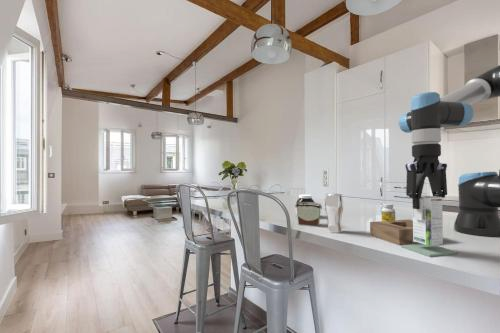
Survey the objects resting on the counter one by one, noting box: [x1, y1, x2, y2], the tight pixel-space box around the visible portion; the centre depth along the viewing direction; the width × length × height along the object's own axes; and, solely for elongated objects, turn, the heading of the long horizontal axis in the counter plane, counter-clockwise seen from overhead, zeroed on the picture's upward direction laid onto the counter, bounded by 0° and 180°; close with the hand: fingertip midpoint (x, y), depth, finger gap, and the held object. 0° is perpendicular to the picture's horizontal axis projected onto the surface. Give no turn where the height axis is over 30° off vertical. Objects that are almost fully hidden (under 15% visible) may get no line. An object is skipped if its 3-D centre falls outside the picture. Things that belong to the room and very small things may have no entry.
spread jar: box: [295, 194, 315, 215], centre depth 145 cm, size 12×11×12 cm
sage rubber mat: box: [401, 243, 458, 258], centre depth 83 cm, size 10×10×1 cm
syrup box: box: [412, 194, 444, 246], centre depth 83 cm, size 6×6×14 cm
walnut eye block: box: [369, 218, 419, 246], centre depth 97 cm, size 18×14×5 cm
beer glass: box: [324, 193, 344, 234], centre depth 109 cm, size 7×7×15 cm
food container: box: [294, 201, 323, 228], centre depth 123 cm, size 12×6×10 cm, turn 58°
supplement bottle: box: [381, 203, 396, 221], centre depth 118 cm, size 5×5×10 cm
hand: (427, 218), depth 83 cm, fingers closed on syrup box, 6 cm apart
